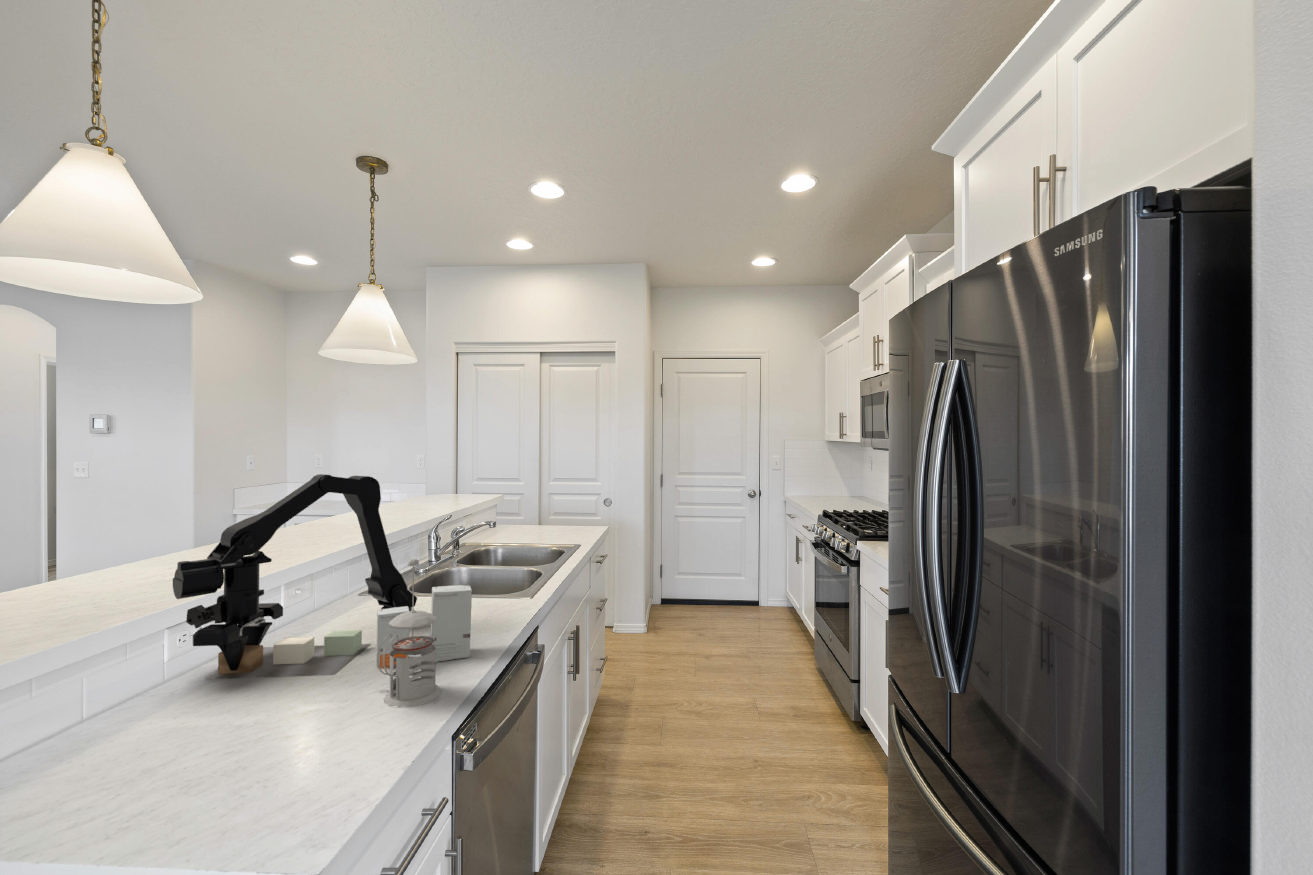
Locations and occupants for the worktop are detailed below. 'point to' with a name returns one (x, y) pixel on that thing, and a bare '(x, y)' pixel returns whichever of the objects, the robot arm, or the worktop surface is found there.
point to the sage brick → (342, 642)
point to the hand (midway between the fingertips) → (241, 665)
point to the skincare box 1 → (384, 629)
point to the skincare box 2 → (451, 621)
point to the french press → (411, 660)
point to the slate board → (295, 665)
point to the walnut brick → (243, 660)
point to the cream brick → (293, 650)
